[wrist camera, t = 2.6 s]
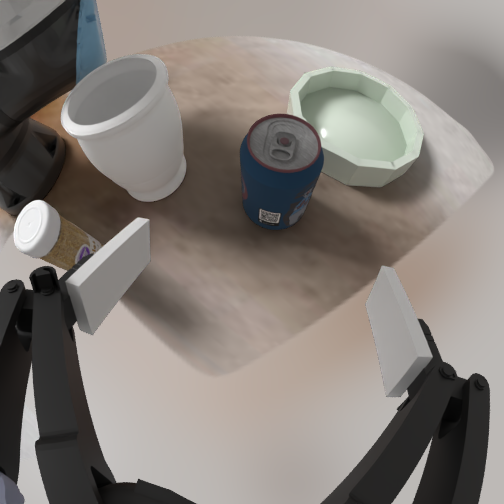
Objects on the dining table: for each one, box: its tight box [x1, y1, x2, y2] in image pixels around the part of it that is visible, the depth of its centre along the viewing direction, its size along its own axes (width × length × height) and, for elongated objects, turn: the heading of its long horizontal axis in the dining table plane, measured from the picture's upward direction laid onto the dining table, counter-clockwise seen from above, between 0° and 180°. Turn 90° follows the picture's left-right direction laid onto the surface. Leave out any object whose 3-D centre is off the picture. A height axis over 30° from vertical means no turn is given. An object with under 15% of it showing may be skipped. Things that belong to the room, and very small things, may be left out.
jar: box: [61, 54, 186, 202], centre depth 26 cm, size 11×10×15 cm
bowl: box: [287, 67, 424, 187], centre depth 33 cm, size 18×18×4 cm
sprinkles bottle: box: [14, 200, 104, 271], centre depth 24 cm, size 5×5×14 cm
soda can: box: [240, 114, 324, 230], centre depth 26 cm, size 7×7×12 cm
